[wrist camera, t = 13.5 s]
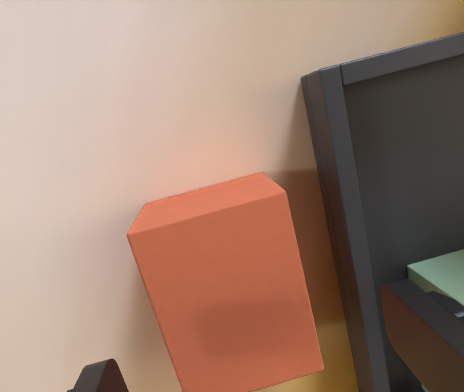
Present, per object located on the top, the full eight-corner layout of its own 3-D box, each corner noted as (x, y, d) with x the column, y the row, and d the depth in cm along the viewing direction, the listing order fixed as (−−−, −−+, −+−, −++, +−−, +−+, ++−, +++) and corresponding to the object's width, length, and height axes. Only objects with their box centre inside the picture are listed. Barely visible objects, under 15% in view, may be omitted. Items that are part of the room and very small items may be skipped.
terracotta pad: (191, 342, 16) (189, 411, 12) (144, 203, 14) (125, 234, 11) (295, 312, 16) (325, 370, 13) (263, 171, 15) (286, 190, 11)
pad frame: (362, 412, 18) (385, 452, 16) (299, 77, 14) (319, 69, 12) (551, 355, 19) (598, 386, 17) (550, 12, 14) (615, -8, 12)
